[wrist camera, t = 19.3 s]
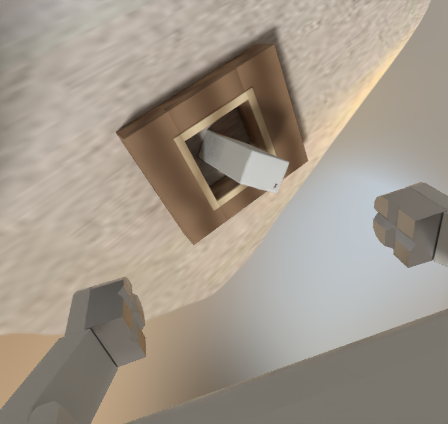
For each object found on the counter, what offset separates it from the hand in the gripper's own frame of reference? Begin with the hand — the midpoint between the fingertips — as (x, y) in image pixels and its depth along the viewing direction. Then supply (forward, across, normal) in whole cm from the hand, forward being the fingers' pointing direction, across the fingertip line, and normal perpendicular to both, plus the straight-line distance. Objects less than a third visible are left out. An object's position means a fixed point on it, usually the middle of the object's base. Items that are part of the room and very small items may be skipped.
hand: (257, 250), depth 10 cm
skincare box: (+37, -4, +12) cm, 39 cm away
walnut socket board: (+37, -4, +11) cm, 39 cm away
